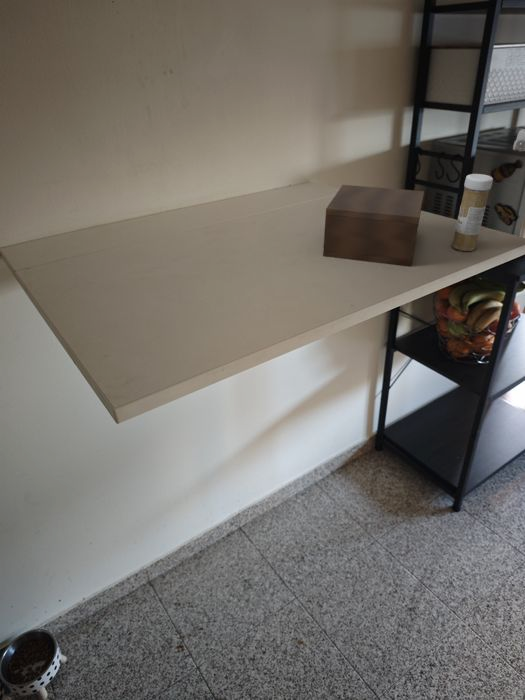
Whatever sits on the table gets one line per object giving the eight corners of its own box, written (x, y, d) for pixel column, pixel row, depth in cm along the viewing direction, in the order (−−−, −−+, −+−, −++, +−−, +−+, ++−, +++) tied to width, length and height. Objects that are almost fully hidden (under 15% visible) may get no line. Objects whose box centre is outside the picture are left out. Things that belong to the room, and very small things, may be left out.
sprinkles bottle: (448, 242, 98) (463, 172, 91) (472, 243, 98) (489, 173, 90) (453, 251, 94) (469, 179, 87) (478, 252, 94) (496, 180, 87)
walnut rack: (416, 235, 102) (424, 191, 97) (410, 266, 89) (419, 217, 84) (339, 227, 106) (342, 184, 101) (322, 255, 93) (326, 208, 88)
